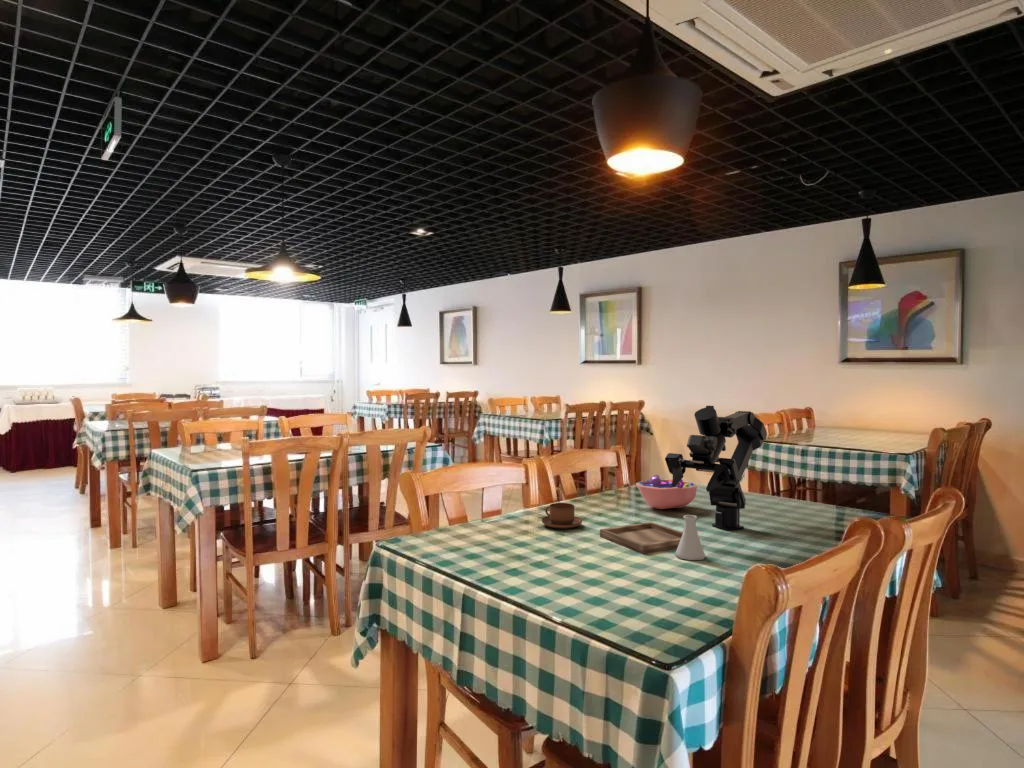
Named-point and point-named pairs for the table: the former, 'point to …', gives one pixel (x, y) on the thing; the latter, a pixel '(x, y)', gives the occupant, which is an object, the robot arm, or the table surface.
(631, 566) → the table surface
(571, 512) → the cup and saucer
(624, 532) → the walnut tray
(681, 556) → the flask
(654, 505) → the cell model
